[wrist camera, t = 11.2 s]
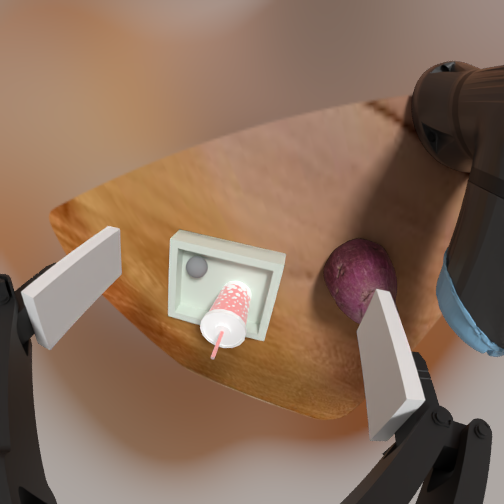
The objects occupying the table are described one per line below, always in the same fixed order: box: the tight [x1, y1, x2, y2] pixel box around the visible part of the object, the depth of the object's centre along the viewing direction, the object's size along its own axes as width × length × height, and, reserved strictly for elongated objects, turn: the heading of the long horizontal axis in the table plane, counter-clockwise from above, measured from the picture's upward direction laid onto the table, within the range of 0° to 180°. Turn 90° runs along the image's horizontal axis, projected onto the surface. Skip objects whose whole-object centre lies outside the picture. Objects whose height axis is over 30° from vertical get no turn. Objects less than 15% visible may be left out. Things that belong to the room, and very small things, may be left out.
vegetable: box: [324, 238, 399, 324], centre depth 36 cm, size 10×10×15 cm
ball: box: [186, 256, 208, 278], centre depth 43 cm, size 3×3×3 cm
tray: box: [168, 230, 286, 341], centre depth 45 cm, size 16×14×4 cm
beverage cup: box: [200, 281, 251, 359], centre depth 40 cm, size 6×6×14 cm
